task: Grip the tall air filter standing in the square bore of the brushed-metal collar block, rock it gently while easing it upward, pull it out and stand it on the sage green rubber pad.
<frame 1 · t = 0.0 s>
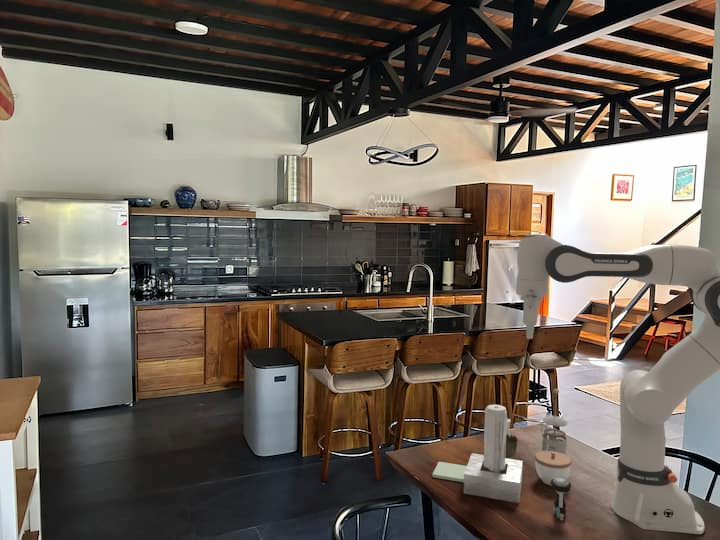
hand: (530, 335, 155), 48 cm above the table, tool pointing down, fingers open, 8 cm apart
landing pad: (450, 473, 171), on the table
bore block: (493, 486, 163), on the table
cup: (505, 460, 182), on the table
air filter: (493, 486, 163), resting in bore block
vase: (502, 446, 194), on the table
push button: (559, 516, 146), on the table
french press: (552, 459, 183), on the table
lidded jar: (552, 482, 166), on the table
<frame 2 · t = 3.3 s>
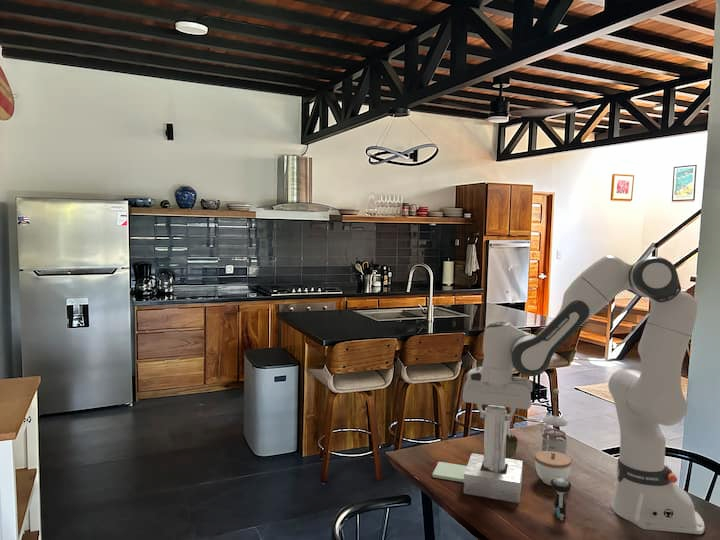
hand: (495, 419, 161), 21 cm above the table, tool pointing down, fingers closed on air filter, 6 cm apart
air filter: (493, 486, 163), resting in bore block, touching gripper
everything else where it was.
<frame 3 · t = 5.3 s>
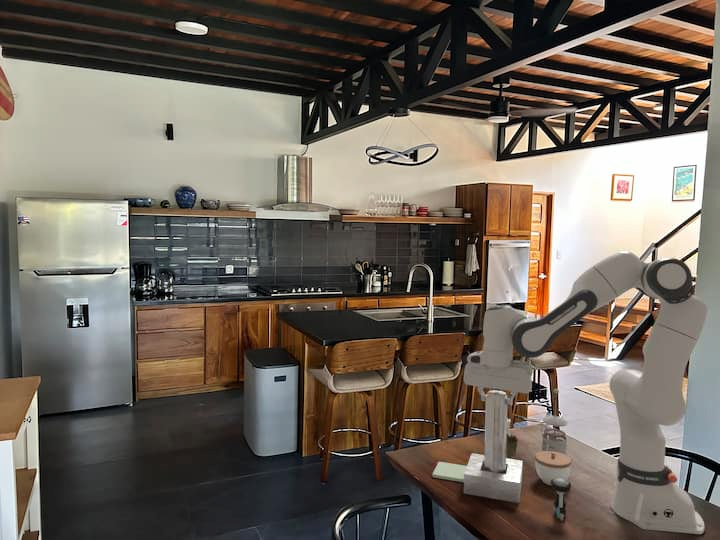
hand: (496, 402, 161), 26 cm above the table, tool pointing down, fingers closed on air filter, 6 cm apart
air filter: (494, 472, 162), point 4 cm above the table, touching gripper
everything else where it was.
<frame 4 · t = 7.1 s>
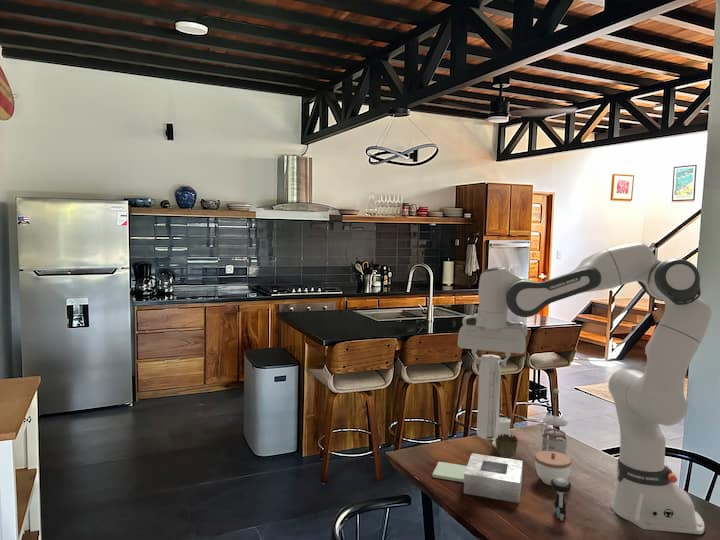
hand: (490, 364, 161), 38 cm above the table, tool pointing down, fingers closed on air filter, 6 cm apart
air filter: (487, 436, 163), point 15 cm above the table, touching gripper
everything else where it was.
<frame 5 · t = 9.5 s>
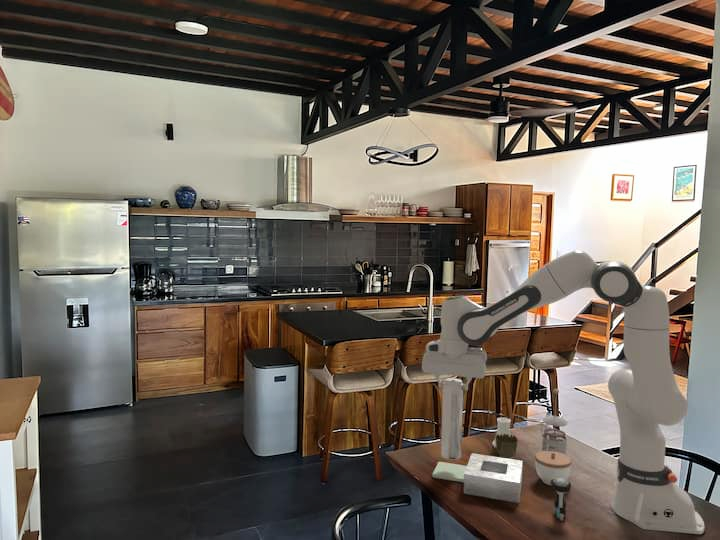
hand: (453, 388, 169), 28 cm above the table, tool pointing down, fingers closed on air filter, 6 cm apart
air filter: (451, 456, 171), point 6 cm above the table, touching gripper
everything else where it was.
when the fingers open (24 cm above the table, at t = 11.3 s): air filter stays where it is, resting on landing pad.
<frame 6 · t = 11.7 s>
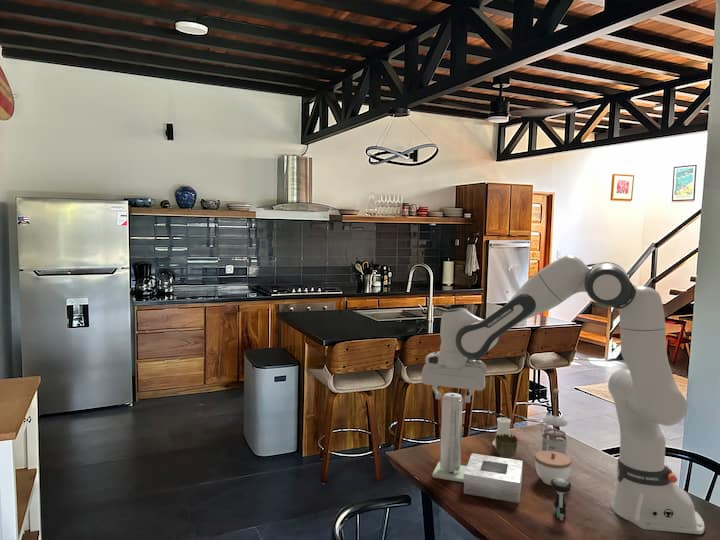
hand: (452, 400, 170), 24 cm above the table, tool pointing down, fingers open, 8 cm apart
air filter: (450, 470, 171), point 1 cm above the table, touching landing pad
everything else where it was.
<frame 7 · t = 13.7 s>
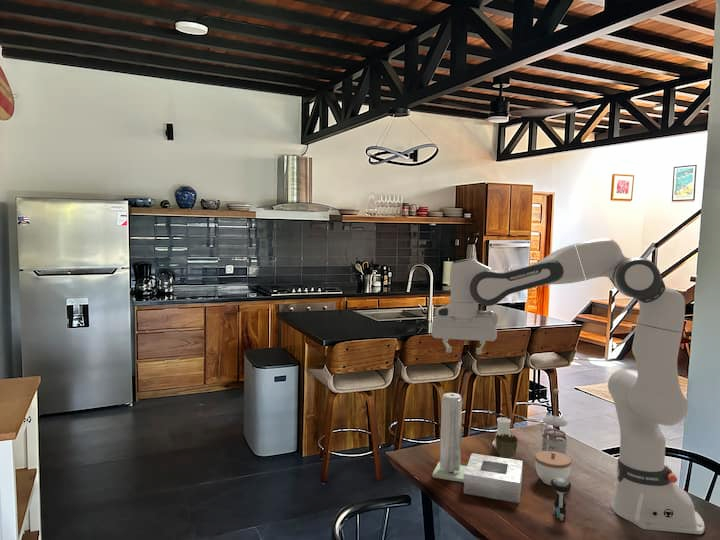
hand: (463, 353, 167), 40 cm above the table, tool pointing down, fingers open, 8 cm apart
nothing on the table moved.
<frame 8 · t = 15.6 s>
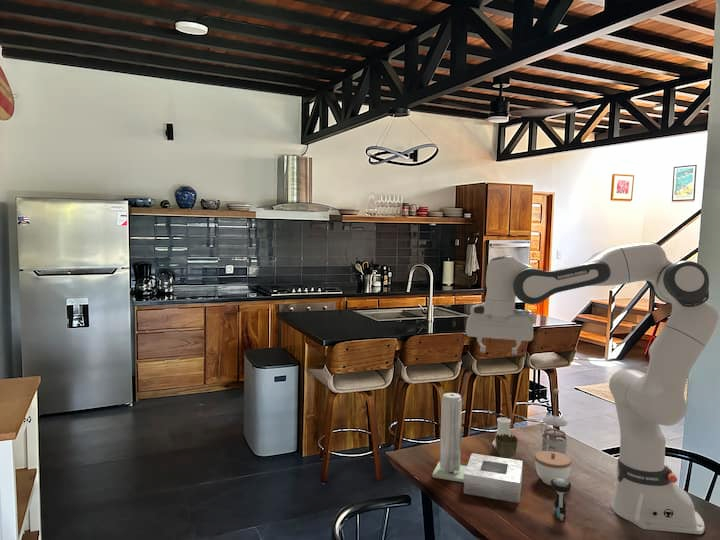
hand: (498, 352, 163), 41 cm above the table, tool pointing down, fingers open, 8 cm apart
nothing on the table moved.
at the end: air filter inside the target area on the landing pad (0.3 cm from its centre), point 0.8 cm above the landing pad's base; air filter tilted 0°; the gripper is holding nothing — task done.
